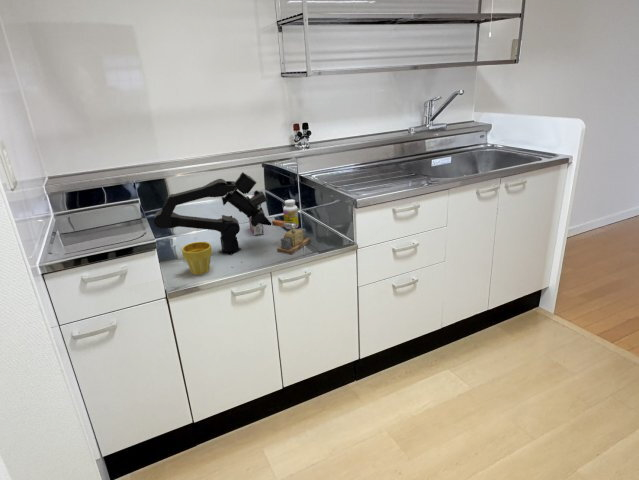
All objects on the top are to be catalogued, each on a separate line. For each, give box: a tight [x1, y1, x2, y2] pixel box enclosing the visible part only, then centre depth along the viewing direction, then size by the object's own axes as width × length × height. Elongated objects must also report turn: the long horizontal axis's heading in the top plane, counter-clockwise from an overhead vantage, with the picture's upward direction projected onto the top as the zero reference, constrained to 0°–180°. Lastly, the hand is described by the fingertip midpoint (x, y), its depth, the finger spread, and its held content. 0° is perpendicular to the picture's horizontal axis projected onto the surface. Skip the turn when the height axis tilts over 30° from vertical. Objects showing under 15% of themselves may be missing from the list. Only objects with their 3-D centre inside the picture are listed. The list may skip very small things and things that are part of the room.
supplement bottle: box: [282, 199, 300, 230], centre depth 190 cm, size 7×7×13 cm
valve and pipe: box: [280, 227, 308, 250], centre depth 169 cm, size 14×5×7 cm, turn 150°
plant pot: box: [181, 241, 213, 276], centre depth 151 cm, size 10×10×10 cm
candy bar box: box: [246, 193, 264, 237], centre depth 186 cm, size 11×5×16 cm, turn 17°
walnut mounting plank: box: [276, 237, 312, 255], centre depth 170 cm, size 15×7×2 cm, turn 150°
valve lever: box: [271, 219, 297, 229], centre depth 169 cm, size 11×3×2 cm, turn 60°
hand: (270, 224), depth 170 cm, fingers closed
